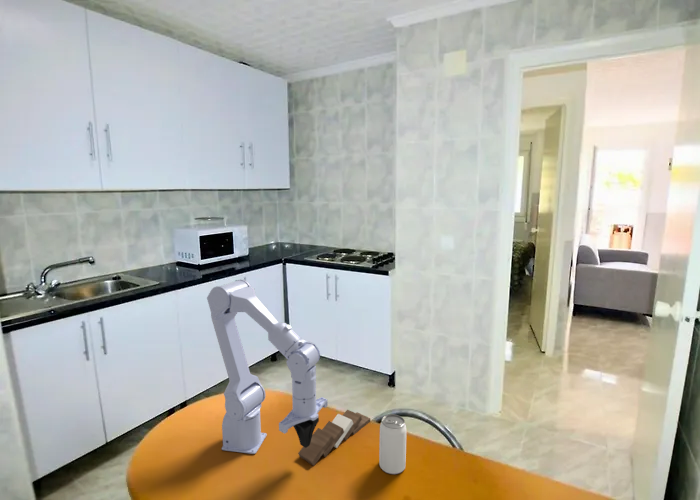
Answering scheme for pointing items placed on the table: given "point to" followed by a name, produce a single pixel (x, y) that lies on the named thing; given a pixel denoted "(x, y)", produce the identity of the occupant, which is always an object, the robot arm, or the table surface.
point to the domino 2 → (335, 432)
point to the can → (392, 444)
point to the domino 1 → (316, 446)
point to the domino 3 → (342, 426)
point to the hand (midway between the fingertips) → (305, 444)
